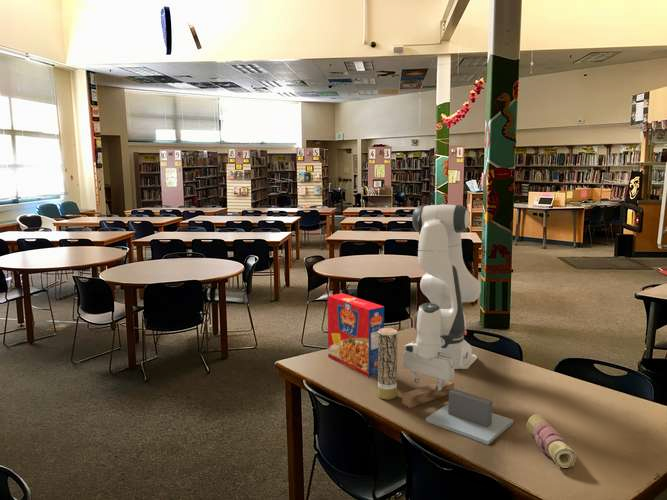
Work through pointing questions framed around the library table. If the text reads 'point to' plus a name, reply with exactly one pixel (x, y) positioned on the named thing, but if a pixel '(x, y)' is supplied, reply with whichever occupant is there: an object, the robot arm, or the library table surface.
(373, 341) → the pasta box
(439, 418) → the ridge stand
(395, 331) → the bark cylinder
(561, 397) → the library table surface
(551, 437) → the scroll
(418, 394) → the light brown wooden bar
